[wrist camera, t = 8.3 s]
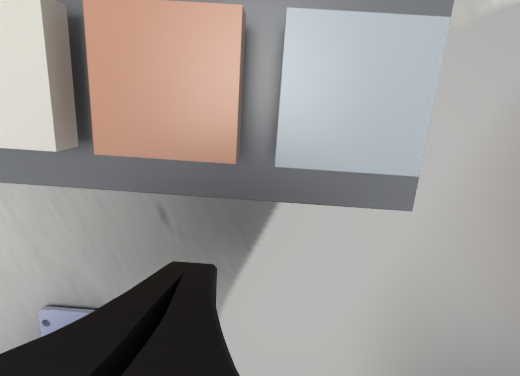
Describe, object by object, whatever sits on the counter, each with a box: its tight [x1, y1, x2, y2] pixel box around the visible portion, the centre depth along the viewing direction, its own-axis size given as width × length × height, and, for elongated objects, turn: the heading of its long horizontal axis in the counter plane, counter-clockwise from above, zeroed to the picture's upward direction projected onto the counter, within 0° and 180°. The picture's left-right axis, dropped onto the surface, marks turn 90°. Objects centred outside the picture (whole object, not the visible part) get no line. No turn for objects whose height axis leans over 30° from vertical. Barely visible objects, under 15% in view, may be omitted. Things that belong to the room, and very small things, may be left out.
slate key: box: [275, 7, 451, 177], centre depth 14 cm, size 6×6×4 cm
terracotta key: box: [83, 0, 246, 164], centre depth 14 cm, size 6×6×4 cm
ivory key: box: [0, 0, 78, 152], centre depth 14 cm, size 6×6×4 cm
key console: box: [0, 0, 454, 211], centre depth 16 cm, size 10×22×3 cm, turn 87°
